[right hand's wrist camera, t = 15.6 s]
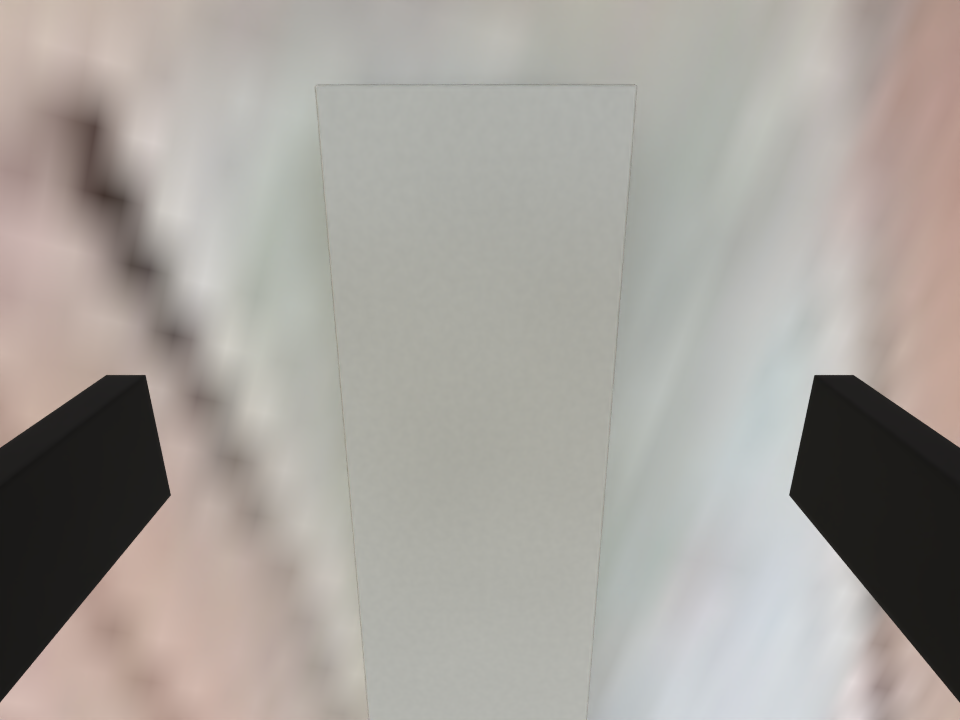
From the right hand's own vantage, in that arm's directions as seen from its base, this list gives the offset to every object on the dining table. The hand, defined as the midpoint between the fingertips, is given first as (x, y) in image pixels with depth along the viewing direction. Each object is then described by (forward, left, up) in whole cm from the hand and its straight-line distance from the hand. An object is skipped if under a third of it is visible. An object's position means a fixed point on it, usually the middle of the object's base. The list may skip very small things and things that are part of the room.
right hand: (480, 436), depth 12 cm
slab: (+28, +6, -17) cm, 34 cm away
